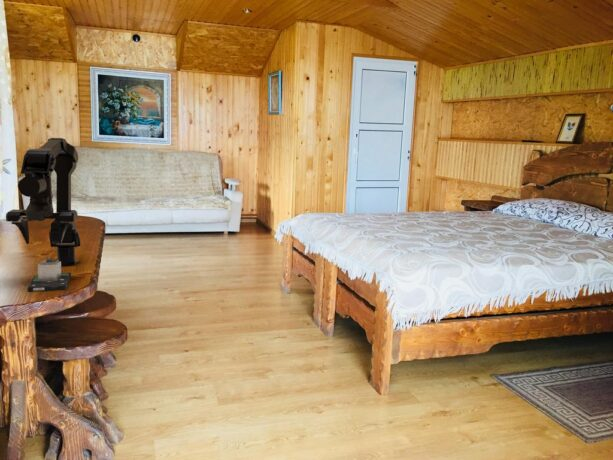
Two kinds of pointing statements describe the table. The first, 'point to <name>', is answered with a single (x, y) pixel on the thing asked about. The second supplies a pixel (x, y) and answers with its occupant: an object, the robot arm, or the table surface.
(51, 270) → the housing
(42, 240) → the table surface
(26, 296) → the table surface
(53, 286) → the disk drive
